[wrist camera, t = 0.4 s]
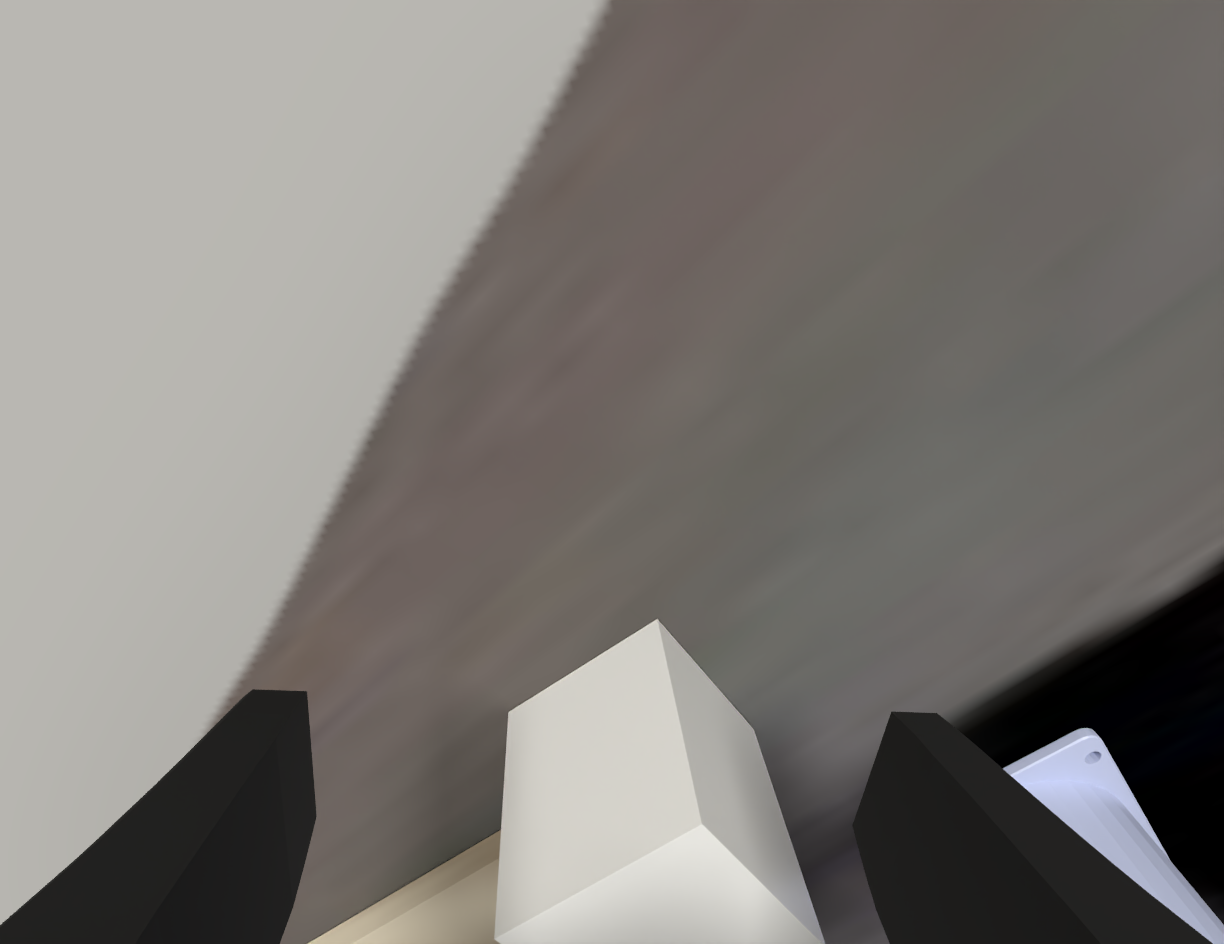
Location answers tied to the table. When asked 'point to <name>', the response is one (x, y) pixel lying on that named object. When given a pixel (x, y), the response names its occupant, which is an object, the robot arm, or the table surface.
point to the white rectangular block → (643, 813)
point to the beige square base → (434, 905)
